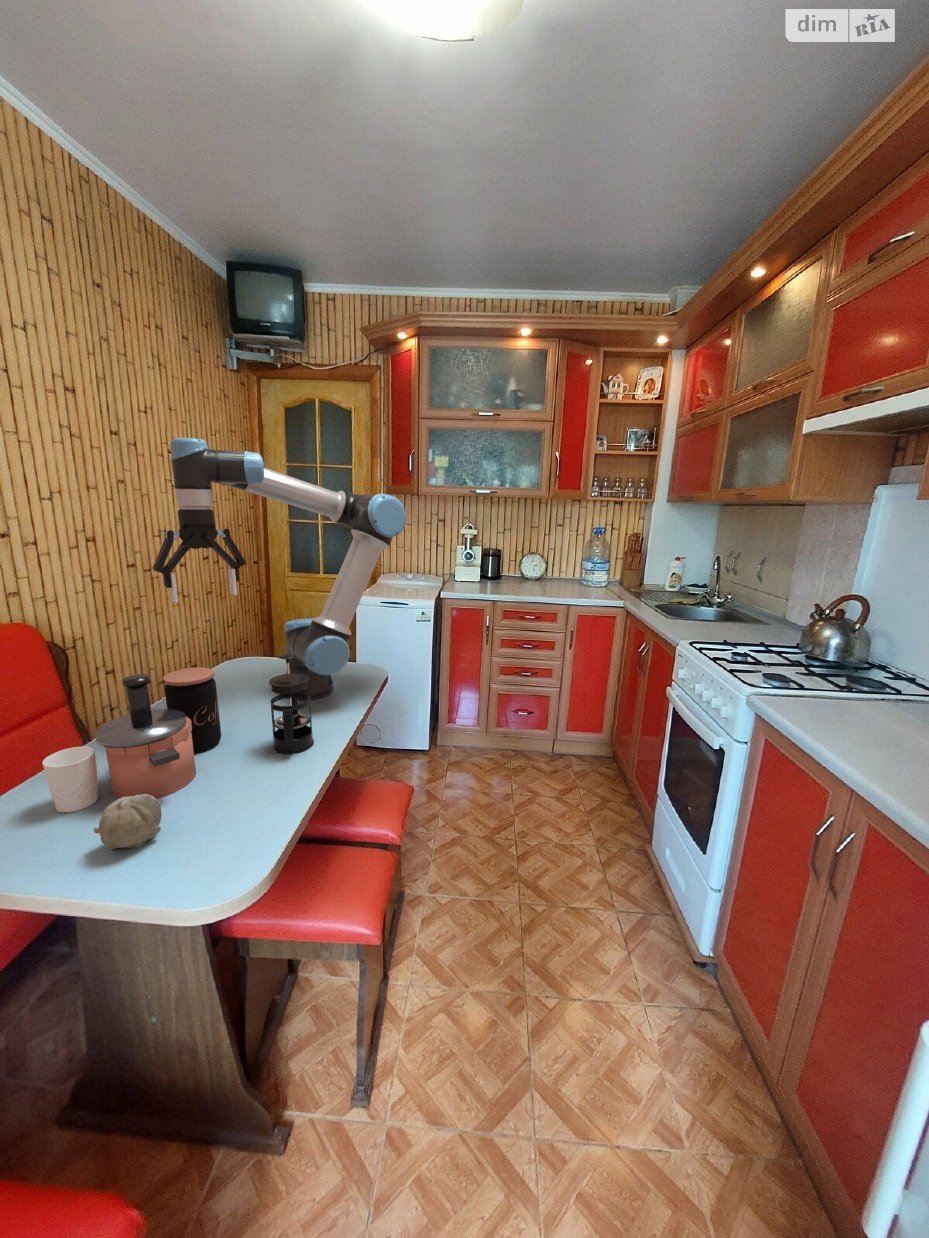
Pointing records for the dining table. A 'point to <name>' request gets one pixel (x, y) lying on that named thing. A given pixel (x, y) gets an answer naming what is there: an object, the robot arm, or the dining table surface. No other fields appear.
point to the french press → (291, 712)
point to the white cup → (72, 778)
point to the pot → (153, 766)
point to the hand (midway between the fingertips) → (205, 597)
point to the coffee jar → (196, 703)
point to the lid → (140, 719)
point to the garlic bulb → (130, 821)
